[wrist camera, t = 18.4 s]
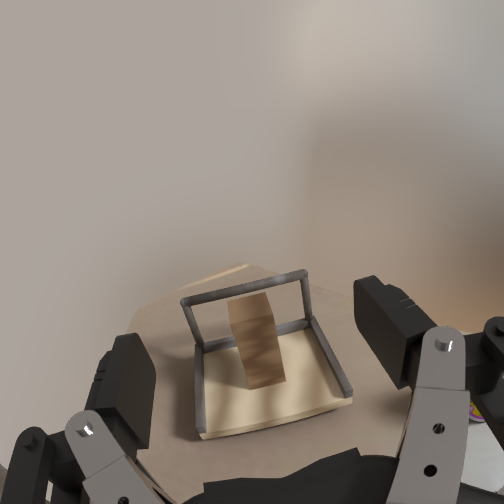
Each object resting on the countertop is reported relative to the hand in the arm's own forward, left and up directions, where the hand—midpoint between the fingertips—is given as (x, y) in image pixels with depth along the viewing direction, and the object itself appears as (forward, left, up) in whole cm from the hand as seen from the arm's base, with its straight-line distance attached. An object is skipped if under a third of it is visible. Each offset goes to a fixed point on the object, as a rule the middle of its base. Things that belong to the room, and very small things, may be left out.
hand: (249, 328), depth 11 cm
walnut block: (0, +23, -26) cm, 35 cm away
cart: (0, +23, -30) cm, 38 cm away
